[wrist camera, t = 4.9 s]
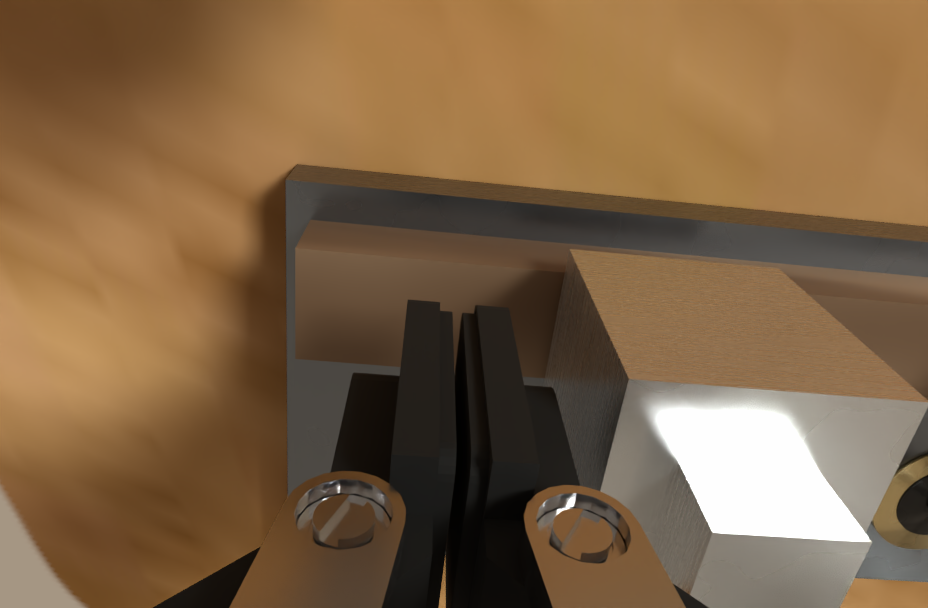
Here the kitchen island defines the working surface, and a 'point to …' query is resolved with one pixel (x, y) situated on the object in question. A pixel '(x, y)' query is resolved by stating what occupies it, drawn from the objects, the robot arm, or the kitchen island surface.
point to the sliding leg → (728, 423)
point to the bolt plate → (603, 225)
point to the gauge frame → (535, 294)
